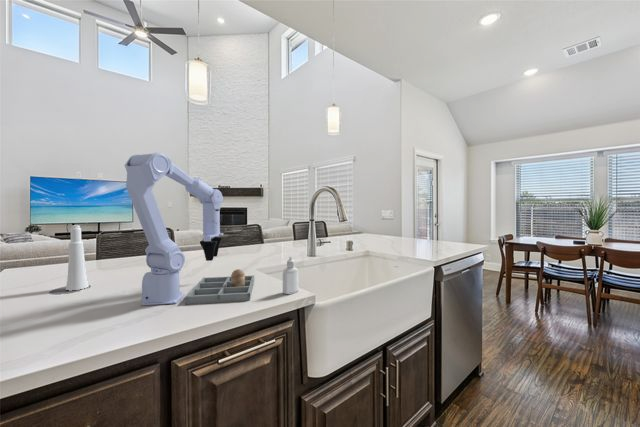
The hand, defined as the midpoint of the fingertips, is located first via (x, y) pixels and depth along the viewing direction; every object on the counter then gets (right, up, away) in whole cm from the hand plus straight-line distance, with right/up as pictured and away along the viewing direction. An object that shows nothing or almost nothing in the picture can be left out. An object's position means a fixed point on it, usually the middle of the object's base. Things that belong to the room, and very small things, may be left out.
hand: (211, 258), depth 100 cm
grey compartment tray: (+8, -10, -8) cm, 15 cm away
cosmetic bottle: (-45, -10, -6) cm, 46 cm away
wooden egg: (+12, -9, -8) cm, 17 cm away
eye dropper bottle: (+30, -10, -10) cm, 33 cm away
